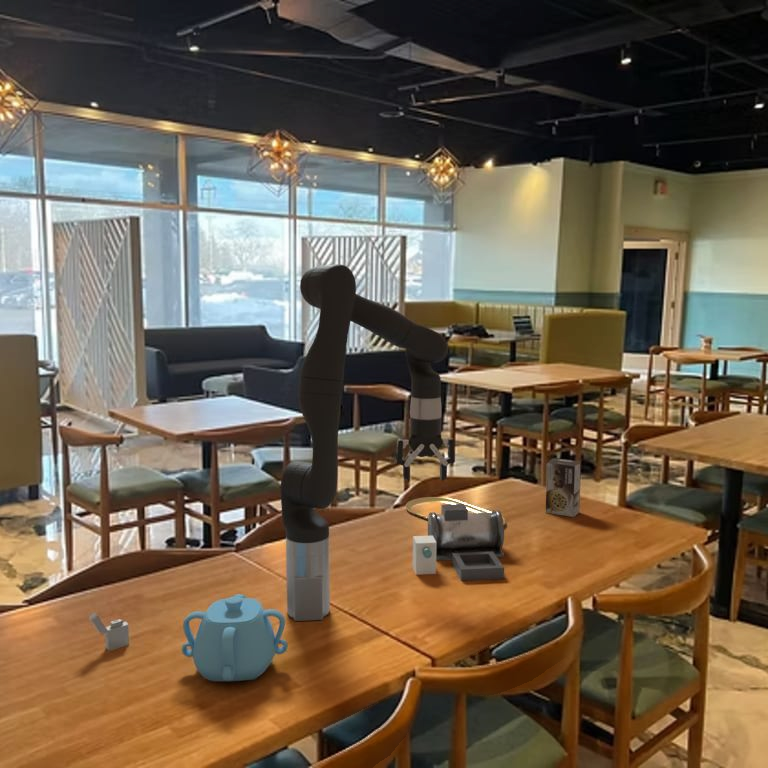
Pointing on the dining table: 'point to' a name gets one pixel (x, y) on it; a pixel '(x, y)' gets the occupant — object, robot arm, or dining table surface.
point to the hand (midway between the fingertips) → (425, 480)
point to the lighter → (112, 632)
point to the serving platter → (444, 500)
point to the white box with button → (424, 555)
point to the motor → (465, 531)
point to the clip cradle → (477, 566)
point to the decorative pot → (234, 639)
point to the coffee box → (563, 487)
